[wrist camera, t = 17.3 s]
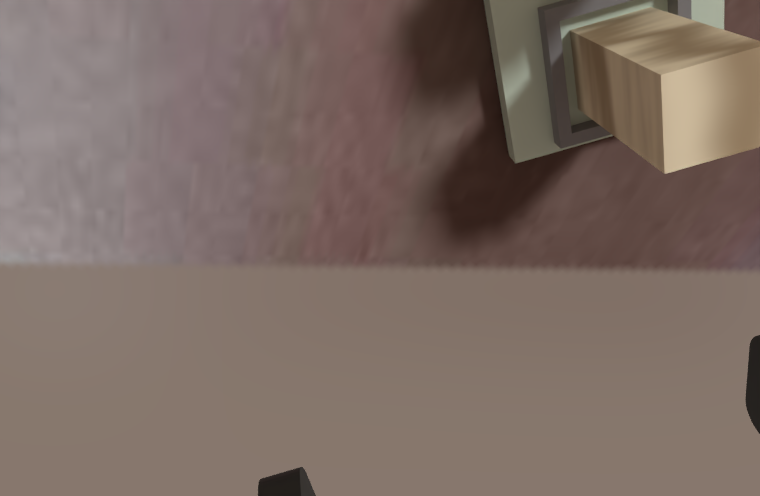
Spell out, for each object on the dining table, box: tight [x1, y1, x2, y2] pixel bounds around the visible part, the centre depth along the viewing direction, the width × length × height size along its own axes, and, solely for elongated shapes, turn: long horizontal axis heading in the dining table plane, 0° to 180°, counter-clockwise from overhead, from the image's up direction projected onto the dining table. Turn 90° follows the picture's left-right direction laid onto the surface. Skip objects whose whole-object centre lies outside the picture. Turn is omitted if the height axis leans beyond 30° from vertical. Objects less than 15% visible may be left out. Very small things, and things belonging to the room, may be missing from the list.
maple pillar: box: [570, 7, 760, 174], centre depth 35 cm, size 5×5×11 cm
